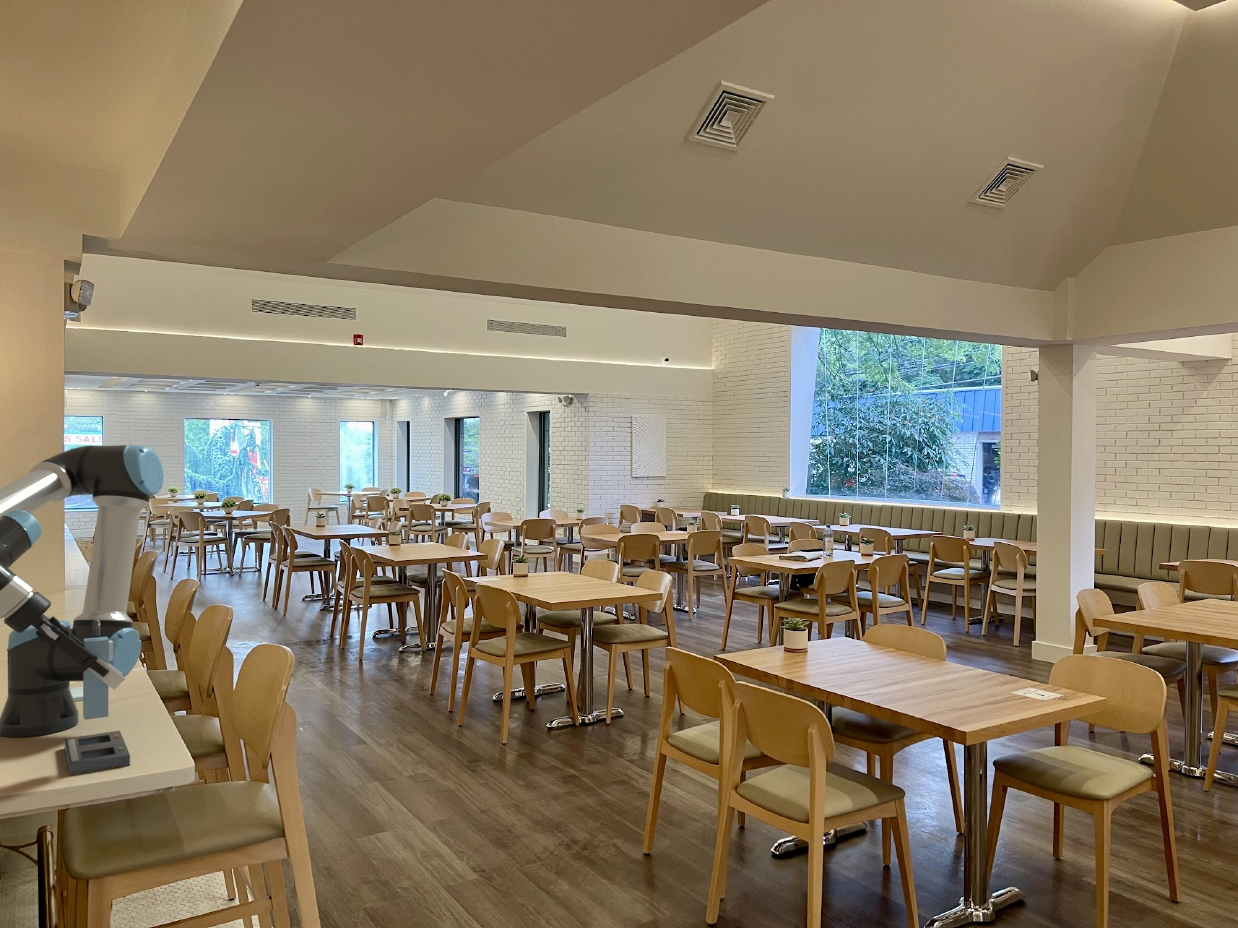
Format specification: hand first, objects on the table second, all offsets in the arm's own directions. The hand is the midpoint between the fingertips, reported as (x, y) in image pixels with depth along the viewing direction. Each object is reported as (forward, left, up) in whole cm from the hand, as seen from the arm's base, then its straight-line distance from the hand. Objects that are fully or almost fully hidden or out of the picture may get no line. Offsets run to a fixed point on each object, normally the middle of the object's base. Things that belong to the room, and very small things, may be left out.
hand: (118, 681), depth 176 cm
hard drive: (-65, -2, -16) cm, 67 cm away
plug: (0, -4, -6) cm, 7 cm away
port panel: (-6, -3, -16) cm, 17 cm away
